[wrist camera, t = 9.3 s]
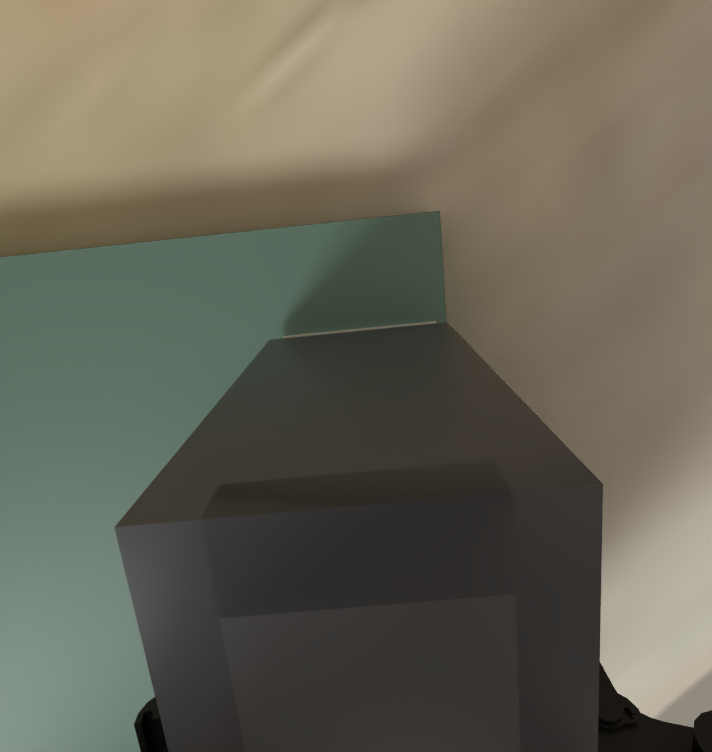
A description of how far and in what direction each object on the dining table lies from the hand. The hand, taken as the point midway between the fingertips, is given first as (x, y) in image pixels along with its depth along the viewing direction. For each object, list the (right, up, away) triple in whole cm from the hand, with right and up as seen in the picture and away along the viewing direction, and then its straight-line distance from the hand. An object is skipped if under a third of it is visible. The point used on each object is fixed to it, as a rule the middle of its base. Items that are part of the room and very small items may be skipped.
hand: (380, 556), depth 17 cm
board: (-6, 0, +2) cm, 7 cm away
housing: (0, 0, 0) cm, 0 cm away
